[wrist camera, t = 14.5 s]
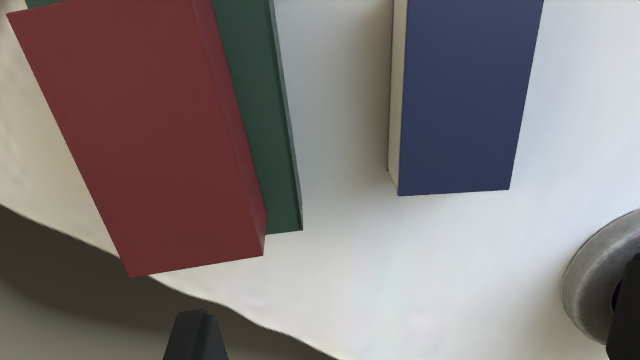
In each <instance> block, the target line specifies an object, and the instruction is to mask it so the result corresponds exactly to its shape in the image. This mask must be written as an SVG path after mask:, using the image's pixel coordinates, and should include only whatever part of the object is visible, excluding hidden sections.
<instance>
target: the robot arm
mask: <svg viewBox="0 0 640 360" xmlns="http://www.w3.org/2000/svg"><path fill="white" fill-rule="evenodd" d="M606 352H607V355H608V357H609V359H610V360H640V253H637V254H635V255H634V256H633V258H632V260H631V261H629V262H628V263H627V265H626V268H625V272H624V276H623V280H622V284H621V288H620V291H619V295H618V299H617V303H616V307H615V311H614V315H613V319H612V322H611V326H610V330H609V334H608V338H607V342H606ZM163 360H229V359H228V356H227V352H226V349H225V346H224V342H223V339H222V336H221V332H220V329H219V326H218V323H217V319H216V316H215V315H208V314H207V311H206V310H205V309H200V310H192V311H185V312H179V313H178V315H177V317H176V319H175V322H174V326H173V329H172V332H171V335H170V338H169V341H168V345H167V348H166V351H165V354H164V358H163Z"/></svg>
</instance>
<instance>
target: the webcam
mask: <svg viewBox="0 0 640 360" xmlns="http://www.w3.org/2000/svg"><path fill="white" fill-rule="evenodd" d="M637 253H640V210H637V211H634V212H632V213H630V214H627V215H625V216H623V217H621V218H619V219H617V220H615V221H614V222H612V223H611V224H609V225H608V226H606V227H604V228H603V229H602V230H600V231H599V232H598V233H597V234H596V235H594V236H593V237H592V238H591V239H590V240H589V241H588V242H587V243H586V244H585V245H584V246H583V247H582V248H581V249H580V250H579V251H578V252H577V254H576V255H575V257H574V258H573V260H572V262H571V263H570V265H569V266H568V268H567V271H566V273H565V275H564V278H563V281H562V287H561V300H562V304H563V307H564V310H565V312H566V314H567V315H568V317H569V318H570V319H571V321H572V322H573V323H574V324H575V326H576V327H577V328H578V329H579V330H580V331H581V332H582V333H583V334H584V335H586V336H587V337H588V338H590V339H592V340H594V341H596V342H598V343H600V344H602V345H606V342H607V338H608V334H609V330H610V326H611V322H612V319H613V315H614V311H615V307H616V303H617V299H618V295H619V291H620V288H621V284H622V280H623V276H624V272H625V268H626V265H627V263H628V262H629V261H631V260H632V258H633V256H634V255H635V254H637Z"/></svg>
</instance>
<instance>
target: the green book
mask: <svg viewBox="0 0 640 360" xmlns="http://www.w3.org/2000/svg"><path fill="white" fill-rule="evenodd" d="M61 1H66V0H25V2H26V4H27V7H28V9H32V8H37V7H42V6H48V5H53V3H55V2H61ZM212 4H213V8H214V11H215V15H216V19H217V23H218V27H219V31H220V34H221V38H222V42H223V46H224V50H225V54H226V58H227V61H228V65H229V69H230V73H231V77H232V81H233V84H234V88H235V92H236V96H237V100H238V104H239V108H240V111H241V115H242V119H243V123H244V127H245V131H246V134H247V138H248V142H249V146H250V150H251V154H252V158H253V161H254V165H255V169H256V173H257V177H258V181H259V184H260V188H261V192H262V196H263V200H264V204H265V208H266V211H267V222H266V232H265V235H267V234H276V233H284V232H292V231H301V230H303V214H302V198H301V191H300V184H299V177H298V170H297V163H296V156H295V149H294V142H293V136H292V129H291V122H290V115H289V108H288V101H287V94H286V87H285V80H284V73H283V67H282V60H281V53H280V46H279V39H278V32H277V25H276V18H275V11H274V4H273V0H212Z"/></svg>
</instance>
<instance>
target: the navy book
mask: <svg viewBox="0 0 640 360" xmlns="http://www.w3.org/2000/svg"><path fill="white" fill-rule="evenodd" d="M543 2H544V0H393V11H392V38H391V65H390V92H389V119H388V146H387V171H389V172H390V175H391V177H392V179H393V181H394V184H395V186H396V188H397V195H398V196H413V195H430V194H447V193H463V192H480V191H497V190H509V186H510V181H511V176H512V170H513V165H514V159H515V154H516V149H517V143H518V138H519V132H520V127H521V121H522V116H523V111H524V105H525V100H526V94H527V89H528V83H529V78H530V73H531V67H532V62H533V56H534V51H535V45H536V40H537V35H538V29H539V24H540V18H541V13H542V7H543Z"/></svg>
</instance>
